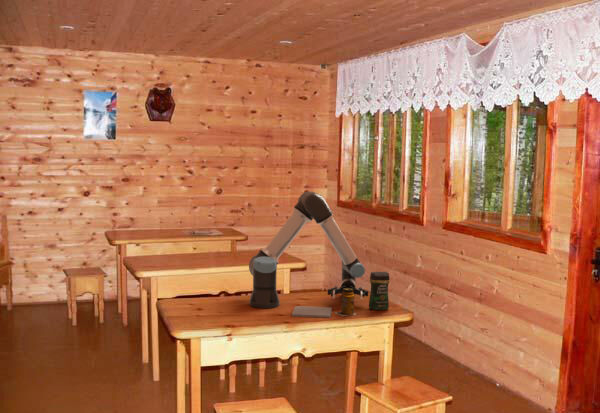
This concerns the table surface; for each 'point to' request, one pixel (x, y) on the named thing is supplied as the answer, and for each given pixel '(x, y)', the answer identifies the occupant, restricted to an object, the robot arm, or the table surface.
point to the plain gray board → (312, 311)
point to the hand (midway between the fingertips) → (347, 296)
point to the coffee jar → (379, 291)
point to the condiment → (347, 302)
